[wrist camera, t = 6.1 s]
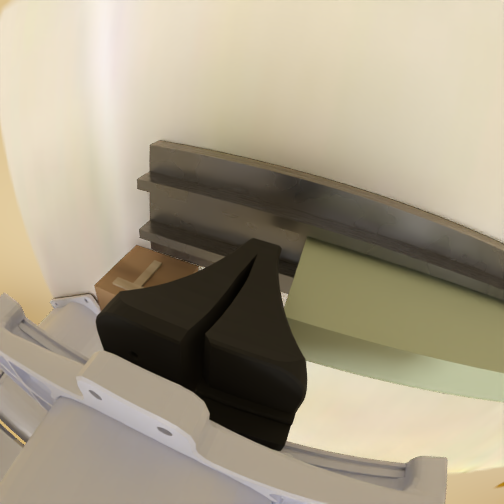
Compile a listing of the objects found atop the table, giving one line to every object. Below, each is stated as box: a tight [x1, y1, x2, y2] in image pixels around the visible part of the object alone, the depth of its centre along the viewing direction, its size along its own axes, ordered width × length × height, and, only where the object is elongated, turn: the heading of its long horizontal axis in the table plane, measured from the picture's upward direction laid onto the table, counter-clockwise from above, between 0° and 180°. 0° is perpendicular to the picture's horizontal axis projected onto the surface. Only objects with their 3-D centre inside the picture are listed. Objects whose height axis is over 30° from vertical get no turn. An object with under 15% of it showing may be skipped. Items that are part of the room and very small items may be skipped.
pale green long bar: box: [284, 236, 504, 402], centre depth 12 cm, size 14×2×6 cm, turn 81°
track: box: [137, 141, 504, 301], centre depth 16 cm, size 26×7×2 cm, turn 81°
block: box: [94, 245, 198, 311], centre depth 20 cm, size 5×5×5 cm
